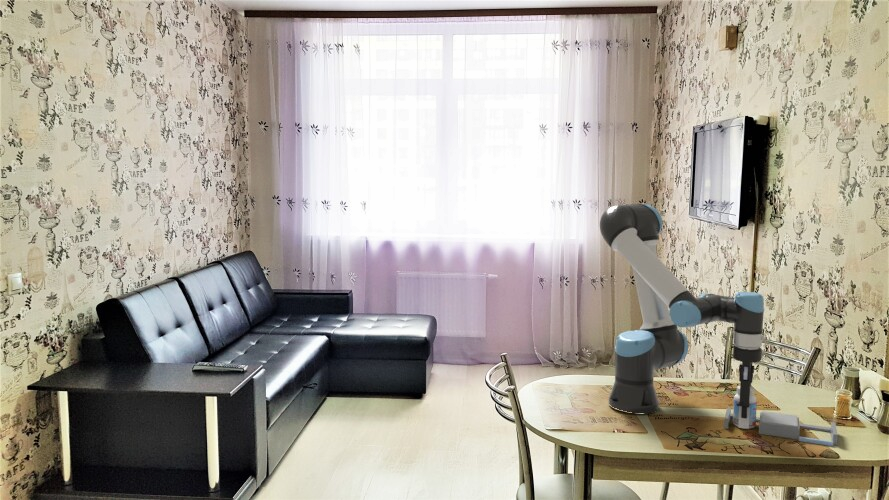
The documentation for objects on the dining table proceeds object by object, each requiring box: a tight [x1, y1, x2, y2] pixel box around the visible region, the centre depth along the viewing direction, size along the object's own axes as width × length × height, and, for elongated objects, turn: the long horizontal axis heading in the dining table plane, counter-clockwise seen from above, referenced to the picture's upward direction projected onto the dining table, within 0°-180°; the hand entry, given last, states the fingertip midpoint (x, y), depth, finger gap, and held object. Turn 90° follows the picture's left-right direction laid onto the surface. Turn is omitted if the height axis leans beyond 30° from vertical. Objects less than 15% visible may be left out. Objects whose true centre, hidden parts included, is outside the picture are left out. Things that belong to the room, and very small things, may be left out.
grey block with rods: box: [723, 407, 839, 447], centre depth 188 cm, size 28×13×4 cm, turn 63°
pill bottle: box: [732, 385, 758, 429], centre depth 191 cm, size 6×6×11 cm
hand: (744, 423), depth 191 cm, fingers closed on pill bottle, 6 cm apart
